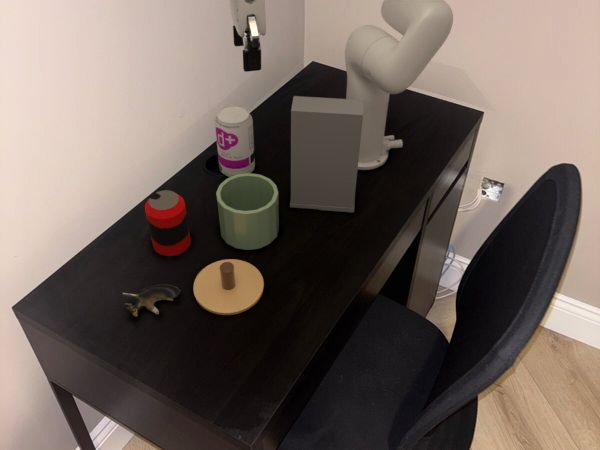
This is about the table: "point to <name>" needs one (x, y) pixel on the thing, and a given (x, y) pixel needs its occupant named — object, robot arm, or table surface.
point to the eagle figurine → (151, 297)
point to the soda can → (168, 223)
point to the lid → (228, 287)
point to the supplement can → (235, 140)
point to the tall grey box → (325, 152)
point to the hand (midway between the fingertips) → (247, 57)
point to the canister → (248, 211)
